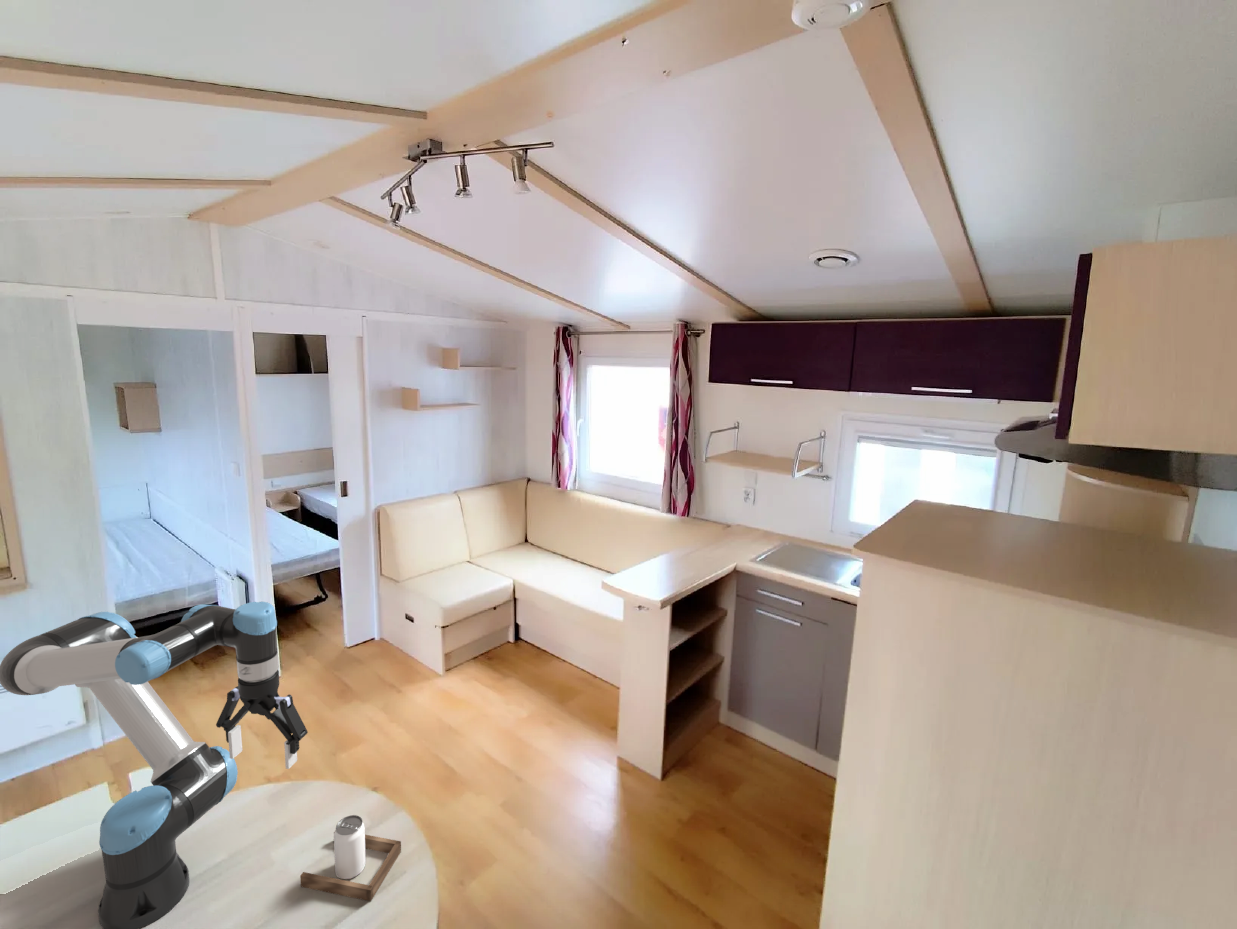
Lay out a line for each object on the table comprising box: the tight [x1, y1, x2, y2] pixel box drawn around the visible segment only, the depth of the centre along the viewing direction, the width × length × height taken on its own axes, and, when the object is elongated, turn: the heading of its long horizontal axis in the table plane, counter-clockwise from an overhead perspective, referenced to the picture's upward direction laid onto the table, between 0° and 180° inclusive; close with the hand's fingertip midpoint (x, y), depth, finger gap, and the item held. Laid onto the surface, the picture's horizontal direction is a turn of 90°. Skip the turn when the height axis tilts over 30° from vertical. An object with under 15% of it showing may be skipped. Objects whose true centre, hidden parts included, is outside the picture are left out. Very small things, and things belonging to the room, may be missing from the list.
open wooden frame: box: [299, 834, 402, 902], centre depth 134 cm, size 17×13×3 cm
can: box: [333, 814, 366, 880], centre depth 133 cm, size 6×6×12 cm
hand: (263, 759), depth 127 cm, fingers open, 13 cm apart
